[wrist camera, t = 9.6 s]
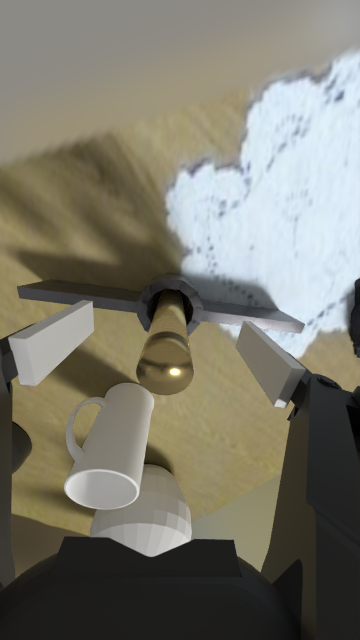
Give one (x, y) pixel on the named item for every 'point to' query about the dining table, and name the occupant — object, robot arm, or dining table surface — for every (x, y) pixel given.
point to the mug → (111, 449)
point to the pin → (166, 349)
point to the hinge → (145, 308)
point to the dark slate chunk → (356, 319)
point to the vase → (148, 516)
